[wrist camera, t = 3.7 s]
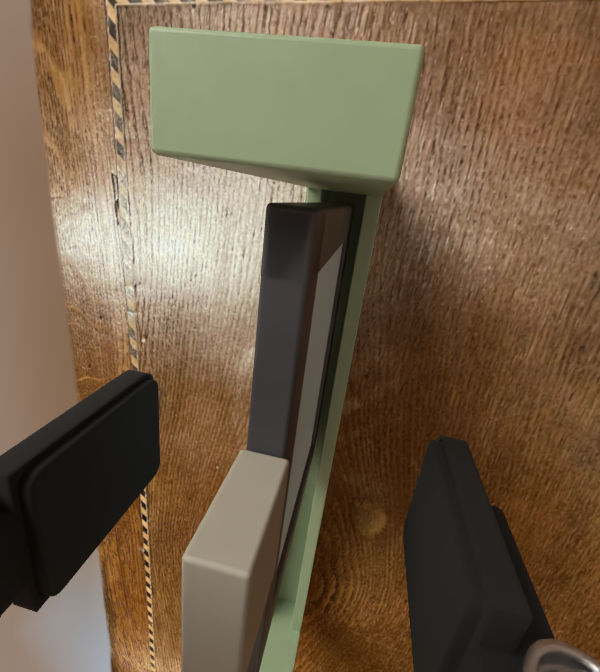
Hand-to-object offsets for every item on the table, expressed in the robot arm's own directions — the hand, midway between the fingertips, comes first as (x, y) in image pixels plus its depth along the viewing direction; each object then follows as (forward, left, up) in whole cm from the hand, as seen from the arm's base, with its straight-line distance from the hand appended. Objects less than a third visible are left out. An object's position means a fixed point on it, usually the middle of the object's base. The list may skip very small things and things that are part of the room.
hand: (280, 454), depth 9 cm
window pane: (0, 0, -8) cm, 8 cm away
